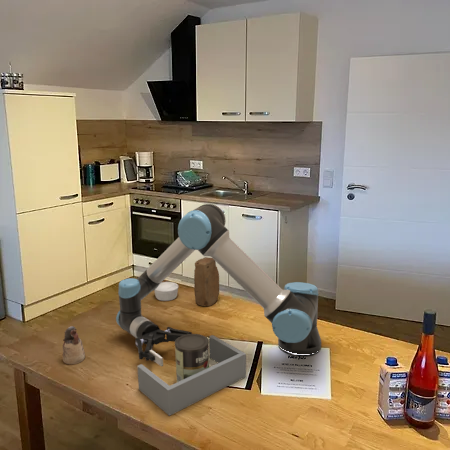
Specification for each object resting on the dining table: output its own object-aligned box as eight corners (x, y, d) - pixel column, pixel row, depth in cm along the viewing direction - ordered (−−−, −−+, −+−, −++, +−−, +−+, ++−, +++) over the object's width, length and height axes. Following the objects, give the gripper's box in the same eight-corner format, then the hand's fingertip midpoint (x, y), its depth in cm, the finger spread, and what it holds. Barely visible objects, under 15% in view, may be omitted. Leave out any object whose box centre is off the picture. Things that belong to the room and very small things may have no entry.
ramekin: (177, 302, 203) (176, 290, 201) (152, 302, 203) (151, 291, 202) (180, 292, 214) (179, 281, 212) (156, 292, 214) (155, 281, 212)
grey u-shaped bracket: (138, 389, 140) (137, 365, 138) (213, 356, 158) (212, 334, 156) (169, 415, 127) (168, 390, 125) (245, 376, 146) (245, 353, 144)
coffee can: (216, 379, 144) (215, 338, 141) (197, 396, 136) (195, 353, 132) (189, 370, 150) (188, 330, 146) (169, 386, 141) (167, 344, 138)
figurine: (79, 351, 162) (75, 320, 159) (89, 359, 157) (86, 326, 154) (59, 359, 157) (55, 327, 154) (69, 367, 152) (65, 334, 149)
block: (206, 308, 195) (205, 264, 190) (192, 304, 200) (191, 260, 195) (222, 300, 204) (221, 257, 199) (209, 296, 208) (208, 254, 203)
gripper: (175, 329, 170) (211, 351, 154) (113, 352, 154) (146, 380, 138) (174, 310, 168) (210, 331, 152) (111, 332, 152) (145, 357, 136)
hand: (180, 354), depth 145 cm, fingers open, 13 cm apart
